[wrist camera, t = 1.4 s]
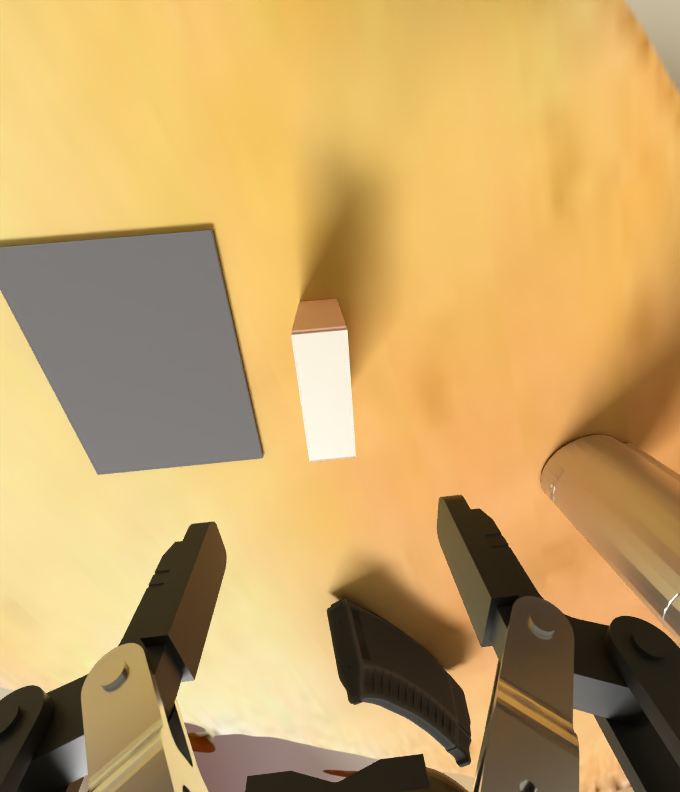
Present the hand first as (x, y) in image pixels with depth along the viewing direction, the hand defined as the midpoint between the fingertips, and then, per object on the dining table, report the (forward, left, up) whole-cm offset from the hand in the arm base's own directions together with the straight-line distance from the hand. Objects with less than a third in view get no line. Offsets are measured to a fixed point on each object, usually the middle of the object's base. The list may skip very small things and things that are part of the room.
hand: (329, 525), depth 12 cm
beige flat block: (0, 0, -18) cm, 18 cm away
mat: (+15, 0, -18) cm, 23 cm away
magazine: (-7, +46, -18) cm, 50 cm away
